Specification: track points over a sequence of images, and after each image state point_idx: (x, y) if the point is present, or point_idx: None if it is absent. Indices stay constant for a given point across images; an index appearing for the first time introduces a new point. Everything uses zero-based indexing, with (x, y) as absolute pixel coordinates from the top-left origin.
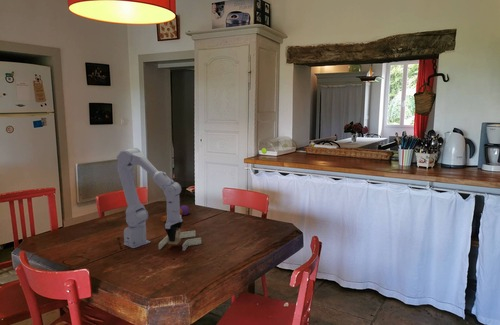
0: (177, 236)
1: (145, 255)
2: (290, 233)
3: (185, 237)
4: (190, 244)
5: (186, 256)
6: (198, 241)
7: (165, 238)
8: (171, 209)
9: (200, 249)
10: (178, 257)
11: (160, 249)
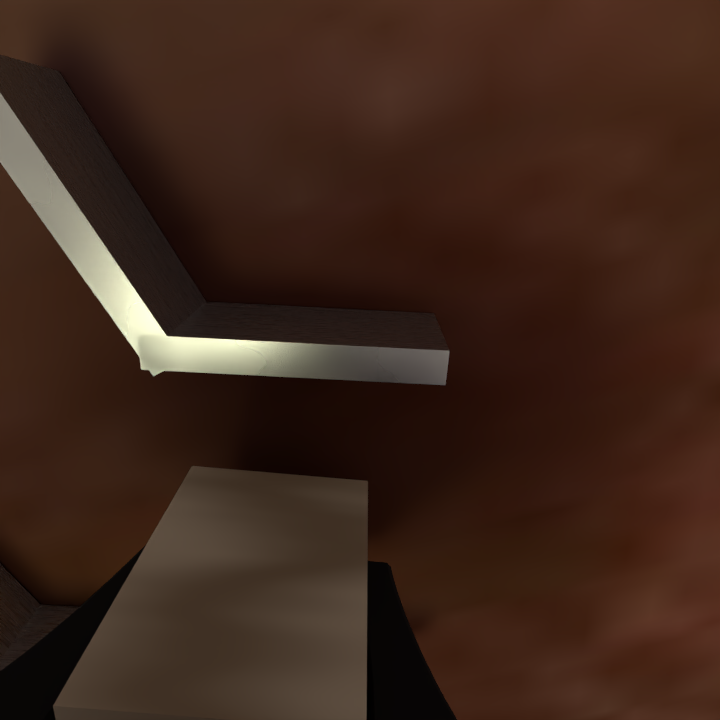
0: (330, 584)
1: (585, 709)
2: None
3: None
4: (178, 274)
5: (682, 215)
6: (60, 123)
7: None
8: None
9: (345, 14)
10: (706, 335)
11: None
